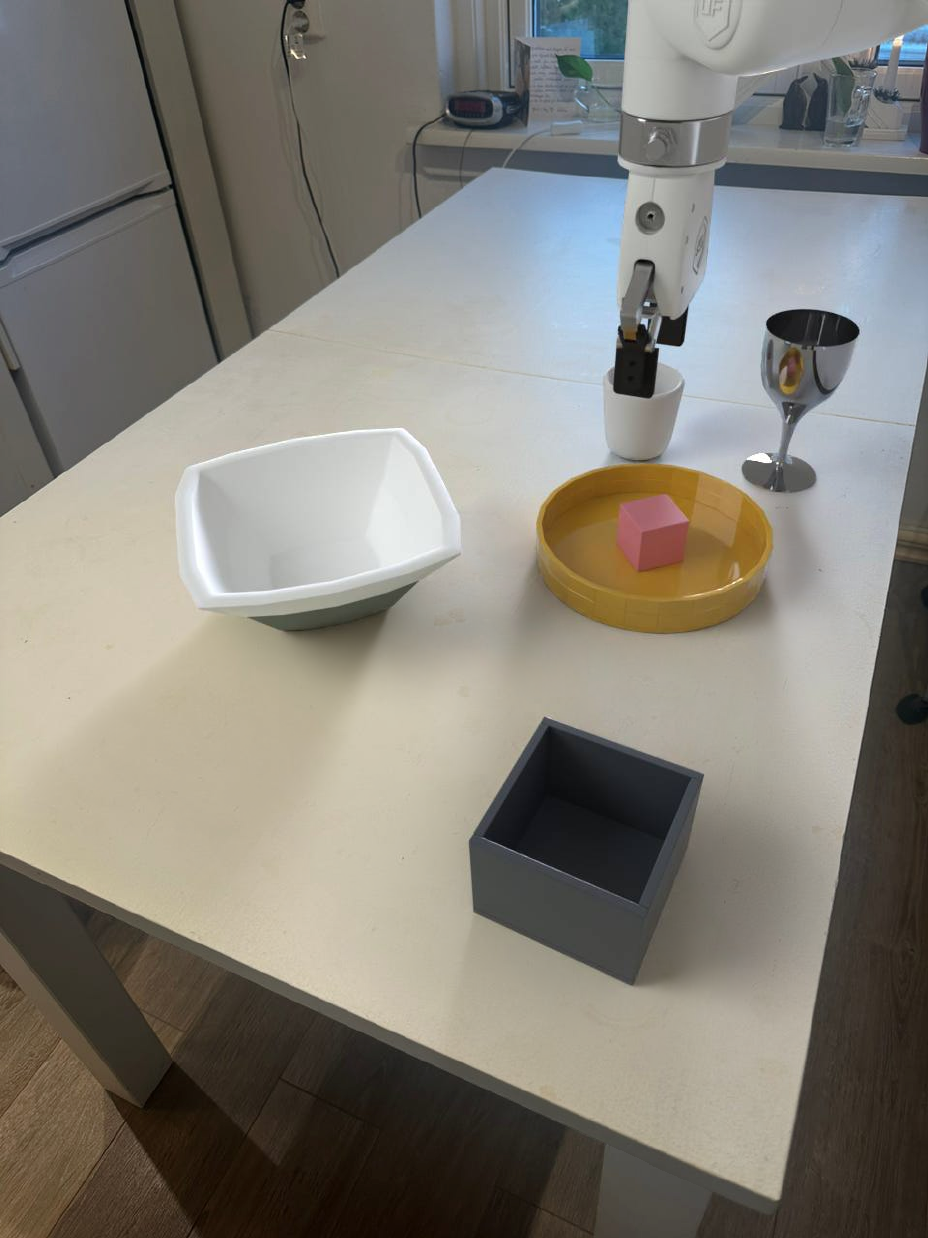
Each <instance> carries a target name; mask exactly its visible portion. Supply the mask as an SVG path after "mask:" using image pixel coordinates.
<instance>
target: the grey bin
mask: <svg viewBox="0 0 928 1238" xmlns="http://www.w3.org/2000/svg"><path fill="white" fill-rule="evenodd" d="M519 755H520V756H519V757H518V759H517V761H516V762H515V764H514V765H513V767H512V768H511V770H510V772H509V774H508V776H507V777H506V778H505V780H504V782H503V784H501V787H500V788H499V790H498V791H497V794H496V795H495V797H494V798H493V800H492V802H491V803H490V805H489V807H488V808H487V809H486V811H485V812H484V814H483V816H482V818H481V820H480V821H479V823H478V825H477V826H476V828H475V829H474V831H473V834H472V835H471V836H470V838H469V840H468V852H469V867H470V882H471V883H470V884H471V895H472V909H473V913H475V914H477V915H480V916H482V917H483V918H486V919H487V920H489V921H492V922H494V923H497V924H498V925H501V926H502V927H504V928H506V929H509V930H511V931H513V932H515V933H518V934H520V935H522V936H524V937H526V938H528V939H531V940H533V941H534V942H537V943H539V944H541V945H543V946H546V947H547V948H549V949H552V950H554V951H556V952H558V953H560V954H563V955H565V956H567V957H569V958H571V959H573V960H575V961H578V962H579V963H581V964H583V965H586V966H588V967H590V968H593V969H594V970H597V971H599V972H601V973H603V974H605V975H608V976H610V977H612V978H614V979H616V980H618V981H620V982H623V983H624V984H627V985H629V986H631V987H633V986H634V984H635V982H636V979H637V977H638V974H639V972H640V969H641V966H642V964H643V961H644V959H645V957H646V954H647V951H648V949H649V946H650V944H651V940H652V938H653V936H654V933H655V931H656V928H657V926H658V923H659V921H660V918H661V916H662V913H663V910H664V908H665V906H666V903H667V901H668V898H669V895H670V893H671V891H672V887H673V885H674V883H675V881H676V878H677V875H678V873H679V871H680V867H681V865H682V863H683V860H684V858H685V855H686V852H687V850H688V847H689V844H690V843H689V842H690V840H691V839H690V838H691V834H692V829H693V825H694V820H695V817H696V813H697V808H698V805H699V800H700V795H701V791H702V787H703V782H704V777H705V773H703V772H700V771H698V770H695V769H692V768H690V767H686V766H684V765H680V764H678V763H675V762H673V761H670V760H667V759H665V758H662V757H659V756H656V755H653V754H651V753H647V752H645V751H642V750H639V749H636V748H634V747H631V746H628V745H626V744H623V743H620V742H617V741H614V740H612V739H609V738H605V737H604V736H601V735H597V734H596V733H595V734H594V733H592V732H590V731H587V730H584V729H582V728H579V727H575V726H573V725H570V724H567V723H565V722H561V721H559V720H556V719H553V718H551V717H548V716H543V718H542V719H541V721H540V723H539V724H538V726H537V727H536V729H535V730H534V732H533V734H532V736H531V738H530V739H529V741H528V742H527V743H526V746H525V747H524V749H523V750H522V752H521V754H519Z"/></svg>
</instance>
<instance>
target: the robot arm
mask: <svg viewBox="0 0 928 1238" xmlns="http://www.w3.org/2000/svg"><path fill="white" fill-rule="evenodd" d="M627 1H628V3H627V18H626V29H625V30H626V32H625V33H626V34H625V45H624V46H625V47H624V61H623V62H624V63H623V76H622V91H621V106H620V108H621V109H620V121H619V135H618V136H619V137H618V152H617V163H618V165H619V166H620V167H621V168H623V169H626V170H628V171H629V172H628V177H627V178H628V179H627V186H626V191H625V192H626V193H625V200H624V203H623V204H624V207H623V216H622V224H621V225H622V226H621V232H620V233H621V234H620V235H621V236H620V244H619V253H618V264H617V265H618V266H617V278H616V307H617V308H618V310H619V321H620V322H619V323H620V324H619V325H618V327H617V335H616V342H615V358H614V366H615V369H614V382H613V391H614V392H615V393H617V394H622V395H628V396H634V397H640V398H646V399H649V398H651V397H652V396H653V394H654V392H655V383H656V374H657V365H658V362H659V357H660V356H659V355H660V348H659V347H656V345H662V346H670V347H678V348H679V347H681V346H683V344H684V343H685V338H686V331H687V324H688V316H689V309H690V304H691V303H692V300H693V299H694V297H695V296H696V295H697V292H698V291H699V289H700V287H701V286H702V284H703V282H704V279H705V277H706V272H707V265H708V264H707V263H708V254H709V245H710V235H711V234H710V233H711V225H712V224H711V223H712V213H713V204H714V203H713V202H714V193H715V178H716V176H715V175H716V174H715V173H716V170H717V169H721V168H722V167H724V166H725V164H726V163H727V157H728V150H729V144H730V136H731V129H732V122H733V117H734V108H735V102H736V95H737V87H738V80H739V77H753V76H759V75H763V74H768V73H771V72H772V73H773V72H777V71H781V70H786V69H790V68H794V67H796V66H800V65H805V64H809V63H814V62H819V61H823V60H829V59H834V58H840V57H845V56H849V55H853V54H857V53H860V52H863V51H867V50H869V49H871V48H875V47H878V46H881V45H882V44H885V43H888V42H891V41H893V40H895V39H897V38H900V37H902V36H904V35H906V34H909V33H911V32H914V31H917V30H919V29H921V28H923V27H926V26H928V0H627ZM645 303H649V305H645ZM643 319H647V324H645V323H642V320H643ZM646 325H647V327H646Z"/></svg>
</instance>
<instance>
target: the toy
mask: <svg viewBox="0 0 928 1238" xmlns="http://www.w3.org/2000/svg"><path fill="white" fill-rule="evenodd" d="M688 526H689V520H688V519H687V518H686V517H685V516H684V514H683V513H682V512H681V511H680V510H679V509H678V507H677V506H676V505H675V504H674V503H673V502H672V500H671V499H670V498H669V497H668V496H667V495H666V494H663V495H658V496H654V497H649V498H644V499H640V500H635V501H631V502H626V503H621V504H620V512H619V523H618V533H617V545H618V546H619V548H620V549H621V550H622V552H623V553H624V555H625V556H626V557H627V559H628V560H629V561H630V563H631V564H632V566H633V567H634V568H635V570H636V571H637V572H640V571H645V570H649V569H653V568H657V567H662V566H666V565H670V564H675V563H679V562H682V561H683V557H684V551H685V545H686V539H687V533H688Z"/></svg>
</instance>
